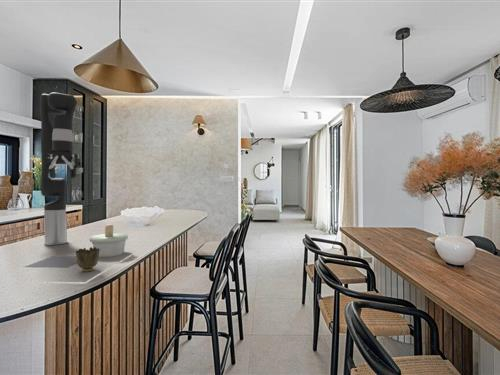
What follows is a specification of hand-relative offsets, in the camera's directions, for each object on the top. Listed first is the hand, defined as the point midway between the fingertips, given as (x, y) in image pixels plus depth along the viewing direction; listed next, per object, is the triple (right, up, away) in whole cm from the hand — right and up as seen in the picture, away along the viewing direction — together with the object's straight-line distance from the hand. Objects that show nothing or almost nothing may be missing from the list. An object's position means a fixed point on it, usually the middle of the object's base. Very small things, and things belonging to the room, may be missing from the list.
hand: (62, 178), depth 130 cm
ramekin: (+20, -34, +1) cm, 39 cm away
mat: (+7, -33, -12) cm, 36 cm away
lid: (+20, -27, +1) cm, 33 cm away
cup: (+23, -34, -24) cm, 48 cm away
